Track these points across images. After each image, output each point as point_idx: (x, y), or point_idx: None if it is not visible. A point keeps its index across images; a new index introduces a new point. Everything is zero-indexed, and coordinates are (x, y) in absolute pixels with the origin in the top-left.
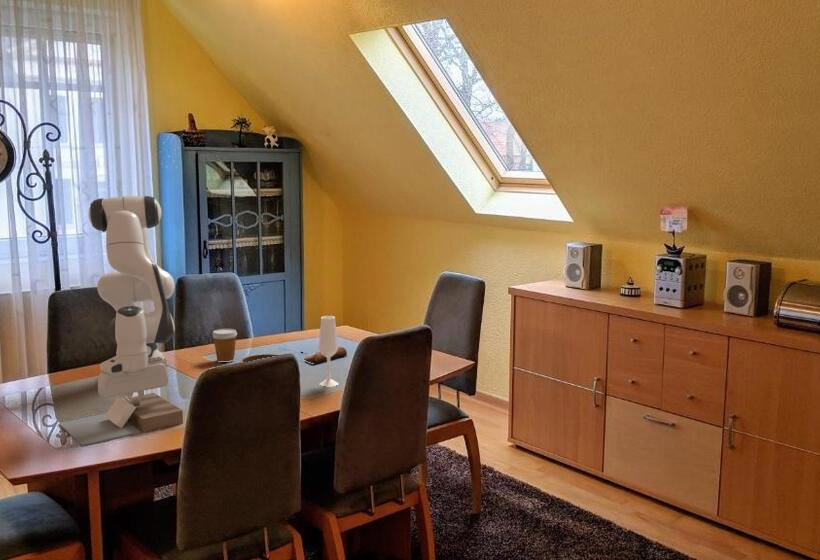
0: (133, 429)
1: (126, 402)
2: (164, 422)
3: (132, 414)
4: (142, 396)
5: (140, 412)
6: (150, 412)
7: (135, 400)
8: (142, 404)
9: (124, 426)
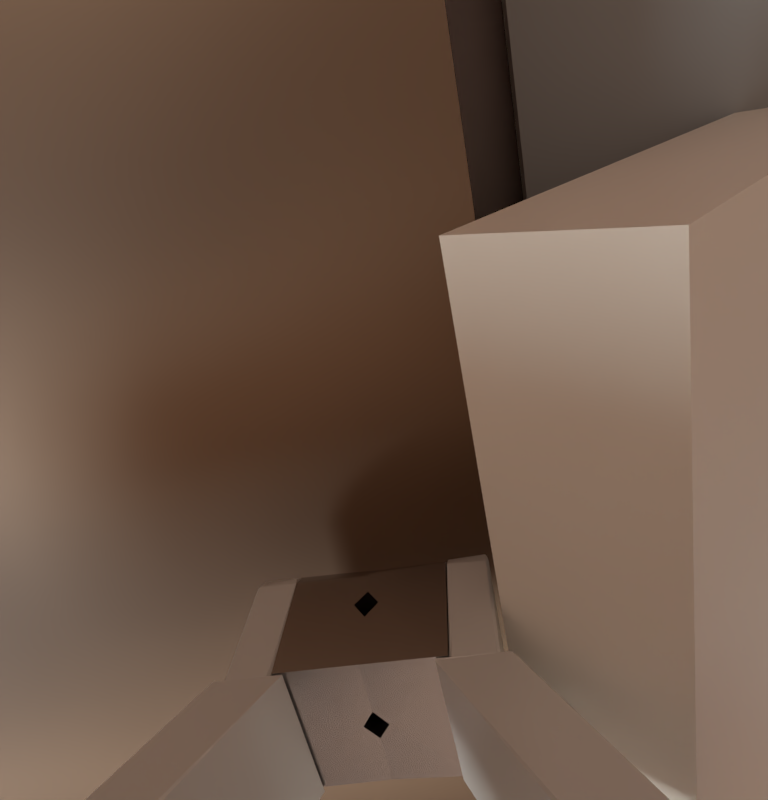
0: None
1: (703, 585)
2: None
3: None
4: (131, 765)
5: (329, 231)
6: (79, 90)
7: (364, 706)
8: None
9: None
